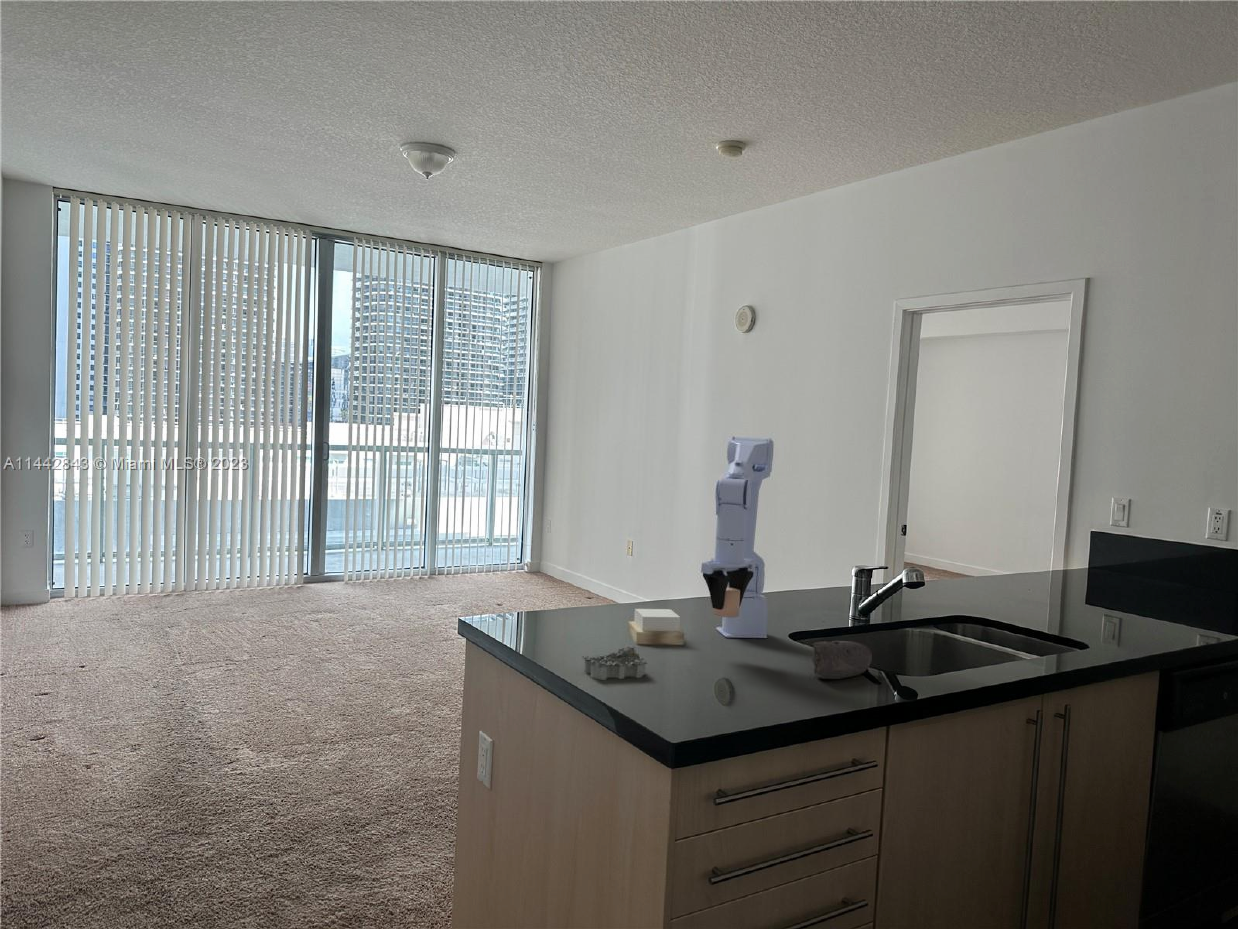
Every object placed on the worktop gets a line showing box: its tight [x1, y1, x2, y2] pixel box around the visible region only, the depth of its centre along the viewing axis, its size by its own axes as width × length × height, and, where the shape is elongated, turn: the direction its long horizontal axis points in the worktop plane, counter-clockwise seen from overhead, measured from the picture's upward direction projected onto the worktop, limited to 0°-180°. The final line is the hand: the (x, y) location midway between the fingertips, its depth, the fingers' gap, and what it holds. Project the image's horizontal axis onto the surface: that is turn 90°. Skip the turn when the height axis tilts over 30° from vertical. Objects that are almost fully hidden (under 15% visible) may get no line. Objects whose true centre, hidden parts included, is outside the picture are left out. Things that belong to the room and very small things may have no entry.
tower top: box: [633, 608, 681, 631], centre depth 176 cm, size 8×8×3 cm
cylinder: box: [712, 588, 740, 618], centre depth 163 cm, size 5×5×5 cm
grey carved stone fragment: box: [582, 646, 649, 681], centre depth 148 cm, size 11×8×4 cm
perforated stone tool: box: [811, 640, 873, 680], centre depth 154 cm, size 15×5×7 cm, turn 119°
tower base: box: [627, 620, 685, 646], centre depth 176 cm, size 10×10×3 cm
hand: (726, 607), depth 163 cm, fingers closed on cylinder, 5 cm apart
